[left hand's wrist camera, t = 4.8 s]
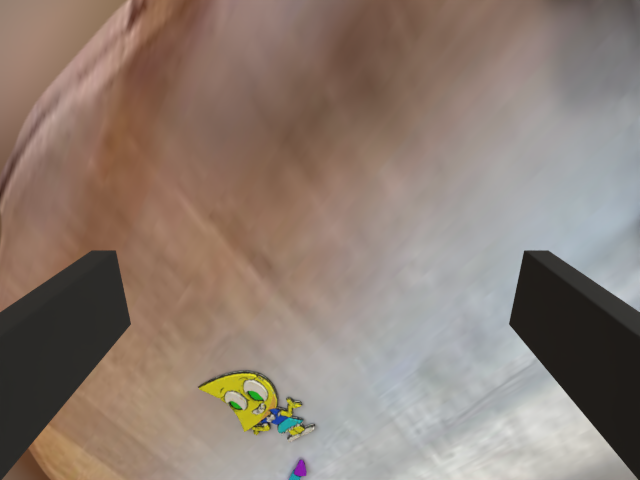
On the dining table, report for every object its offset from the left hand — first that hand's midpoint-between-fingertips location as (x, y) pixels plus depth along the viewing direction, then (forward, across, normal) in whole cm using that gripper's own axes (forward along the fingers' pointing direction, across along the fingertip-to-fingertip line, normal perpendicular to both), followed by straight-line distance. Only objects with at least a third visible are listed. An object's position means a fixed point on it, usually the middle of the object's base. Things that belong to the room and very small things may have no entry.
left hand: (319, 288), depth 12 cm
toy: (+31, -8, -35) cm, 47 cm away
